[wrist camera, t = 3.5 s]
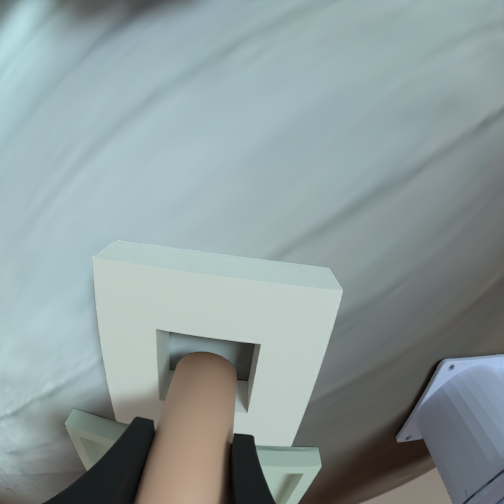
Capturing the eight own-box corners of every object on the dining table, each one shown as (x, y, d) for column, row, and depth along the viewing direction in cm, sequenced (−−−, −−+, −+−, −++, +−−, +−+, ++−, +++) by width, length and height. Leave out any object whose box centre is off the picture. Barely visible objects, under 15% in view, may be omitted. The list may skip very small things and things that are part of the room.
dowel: (240, 356, 13) (227, 565, 4) (233, 400, 13) (221, 578, 5) (175, 347, 12) (110, 542, 4) (176, 391, 13) (130, 561, 5)
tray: (318, 447, 18) (321, 466, 16) (281, 511, 22) (282, 525, 20) (73, 407, 17) (64, 424, 16) (106, 484, 21) (101, 496, 20)
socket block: (328, 267, 14) (343, 290, 12) (287, 416, 17) (290, 446, 15) (116, 239, 14) (92, 256, 11) (128, 393, 17) (116, 420, 14)
